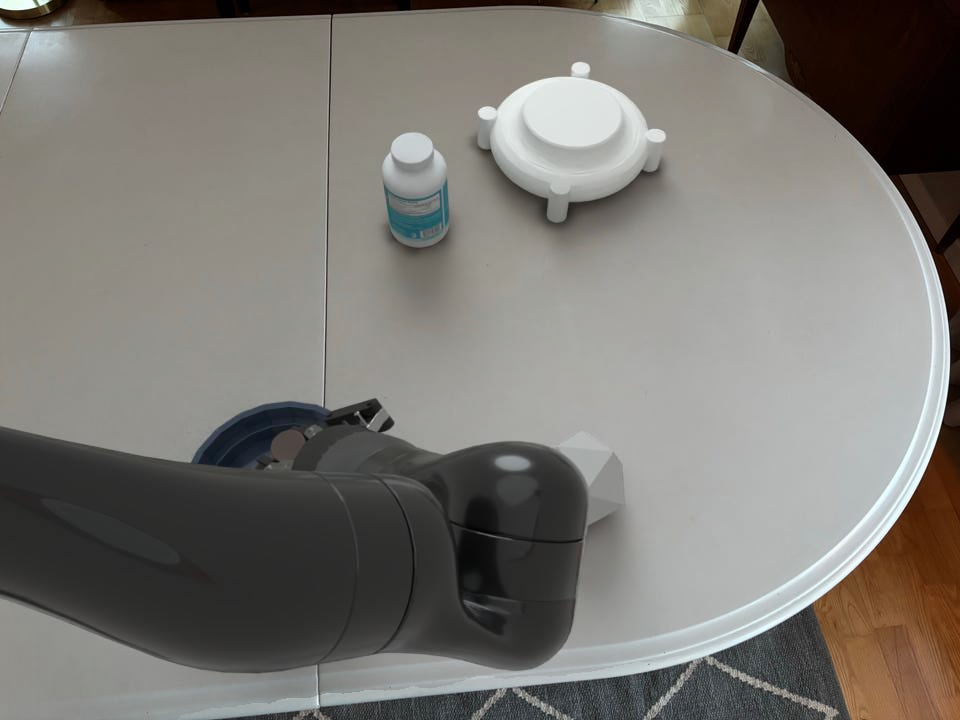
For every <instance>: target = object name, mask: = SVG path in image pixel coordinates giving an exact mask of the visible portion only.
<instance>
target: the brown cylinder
mask: <svg viewBox="0 0 960 720" xmlns="http://www.w3.org/2000/svg"><path fill="white" fill-rule="evenodd" d="M305 443H306V439H305V437H304V436H303V435H302V434H301V433H299V432H297V431H294V430H287V431H284V432H281V433H279V434H278V435H277V436H276V437H275V438H274V439H273V441H272V443H271V454H272V456H273V458H274V459H275V461H276V462H277V463H279V462H280V461H281V460H282V459H292V460H295V457H296V455H297V454H298V452H299V450H300V449H301V448H302V446H303V445H304V444H305Z"/></svg>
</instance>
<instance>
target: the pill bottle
mask: <svg viewBox="0 0 960 720" xmlns="http://www.w3.org/2000/svg"><path fill="white" fill-rule="evenodd" d="M447 167H448V166H447V163H446V160H445V158H444V157H443V155H442V154H441V153H440V152H439V151H438V150H437V149H435V148H434V143H433V142H432V140H431V138H429V136H427V135H425V134H423V133H420V132H405V133H403V134H401V135H399V136H397V137H396V138H395V139H394V140H393V141H392V143H391V145H390V152H389V153H388V154H387V156H386V157H385V158H384V161H383V163H382V167H381V177H382V178H381V179H382V184H383V185H382V186H383V191H384V196H385V204H386V210H387V211H386V212H387V216H388V217H387V218H388V223H389V228H390V232H391V234H392V235H393V237H394V238H395V239H396V240H397V241H398V242H399V243H401V244H402V245H403V246H404V245H405V246H407V247H409V248H417V249H419V248H426V247H430V246H433V245H436V244H437V243H439V242H440V241H441V240H442V239H444V237H446V235H447V233H448V231H449V229H450V203H449V186H448V184H449V183H448V182H449V181H448V168H447Z"/></svg>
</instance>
